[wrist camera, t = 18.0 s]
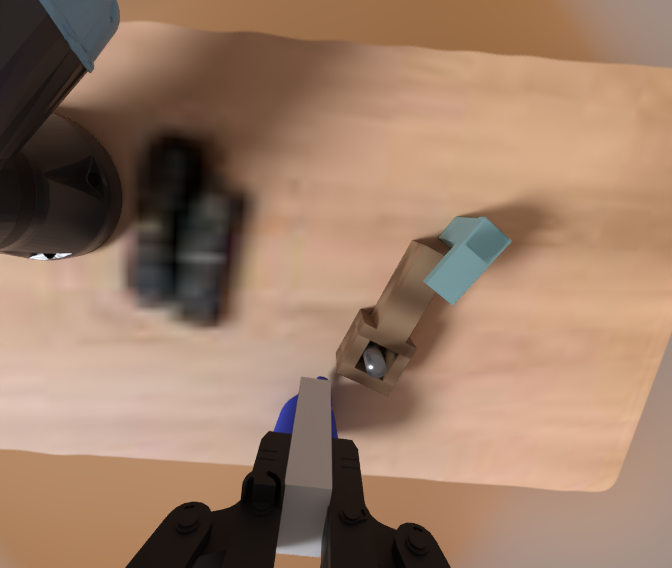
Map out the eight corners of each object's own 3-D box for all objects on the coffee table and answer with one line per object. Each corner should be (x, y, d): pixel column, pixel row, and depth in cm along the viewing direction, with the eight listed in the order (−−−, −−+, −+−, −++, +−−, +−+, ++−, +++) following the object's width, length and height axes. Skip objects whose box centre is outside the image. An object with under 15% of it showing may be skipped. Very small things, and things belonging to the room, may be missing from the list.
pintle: (355, 338, 40) (362, 370, 32) (366, 326, 40) (375, 355, 32) (368, 348, 40) (377, 381, 32) (378, 336, 40) (390, 367, 32)
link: (401, 234, 37) (412, 238, 32) (448, 259, 38) (466, 267, 33) (335, 353, 40) (337, 373, 35) (380, 374, 41) (387, 396, 36)
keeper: (407, 269, 38) (426, 283, 31) (454, 215, 37) (485, 216, 30) (429, 287, 39) (452, 305, 31) (476, 234, 37) (511, 240, 30)
